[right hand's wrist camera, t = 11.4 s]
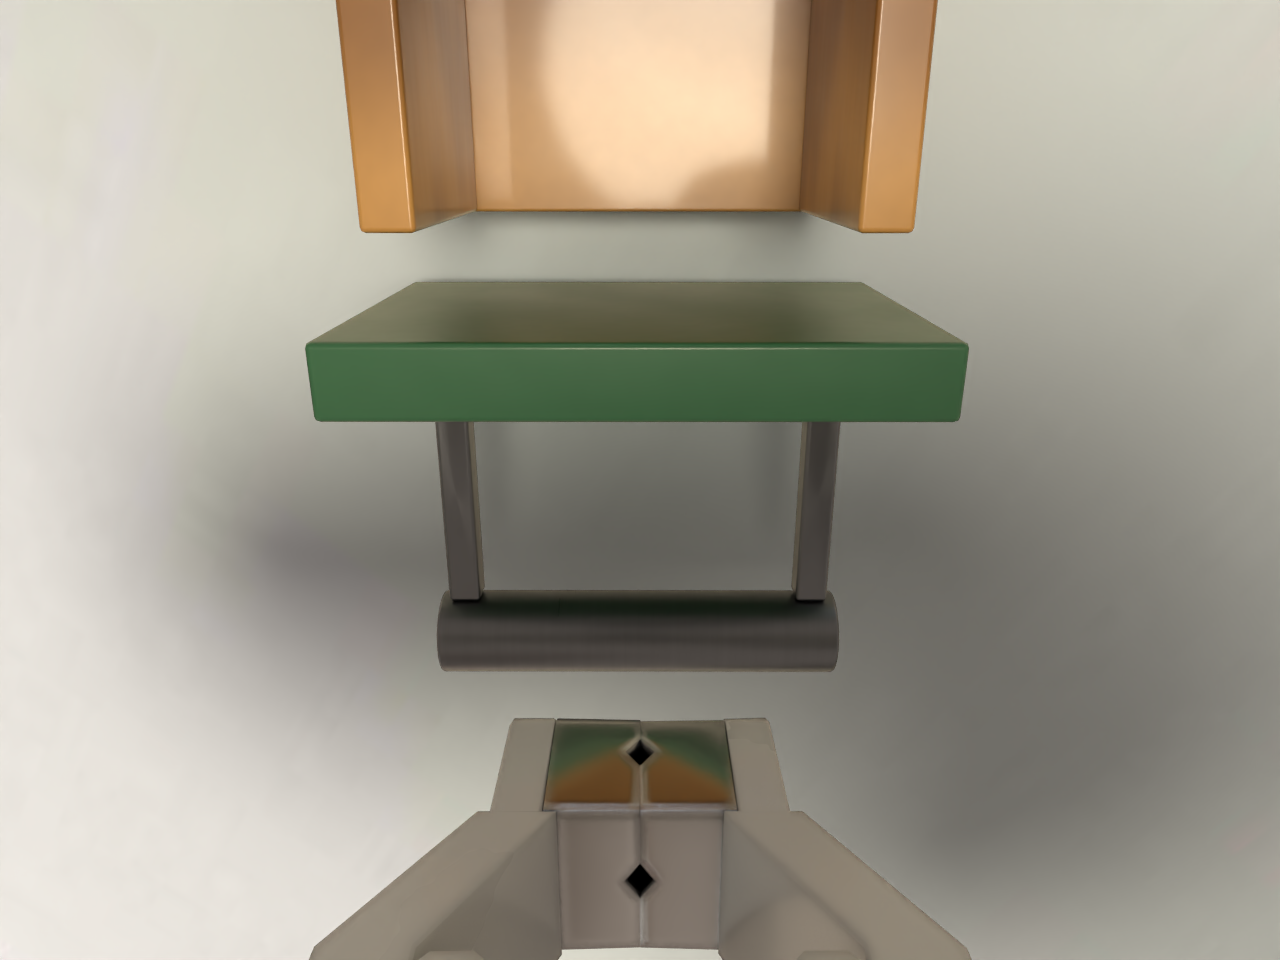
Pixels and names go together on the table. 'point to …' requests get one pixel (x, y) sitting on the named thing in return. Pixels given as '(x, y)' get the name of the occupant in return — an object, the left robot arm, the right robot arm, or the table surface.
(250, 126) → the table surface
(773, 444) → the table surface
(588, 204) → the drawer
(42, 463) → the table surface
